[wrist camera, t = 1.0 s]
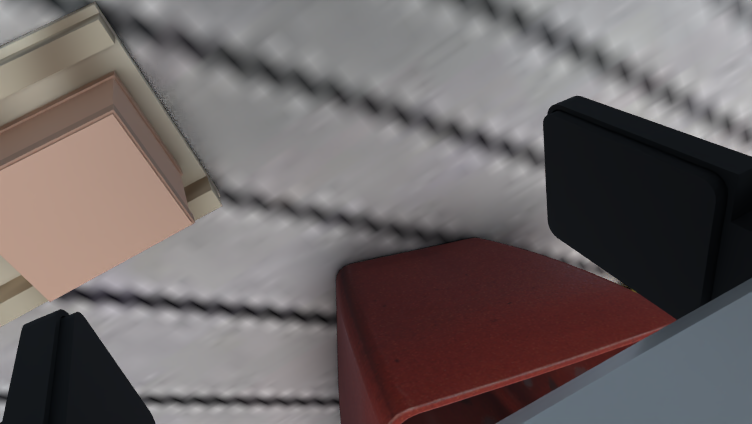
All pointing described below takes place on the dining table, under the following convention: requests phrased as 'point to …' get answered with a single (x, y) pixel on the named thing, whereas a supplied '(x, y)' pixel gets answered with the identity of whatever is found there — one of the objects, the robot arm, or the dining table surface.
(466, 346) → the plant pot
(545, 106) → the dining table surface
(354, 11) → the dining table surface
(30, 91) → the bay
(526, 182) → the dining table surface
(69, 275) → the pink-tan cube
